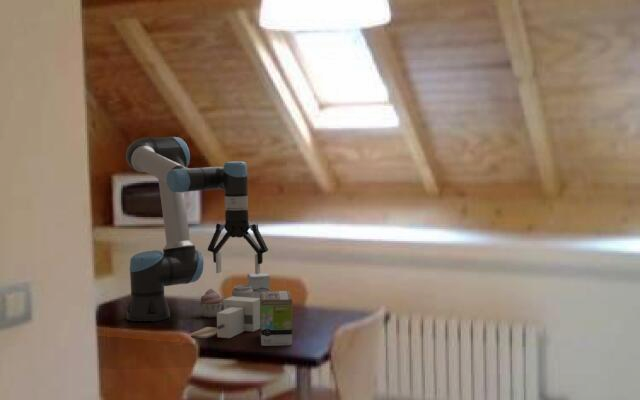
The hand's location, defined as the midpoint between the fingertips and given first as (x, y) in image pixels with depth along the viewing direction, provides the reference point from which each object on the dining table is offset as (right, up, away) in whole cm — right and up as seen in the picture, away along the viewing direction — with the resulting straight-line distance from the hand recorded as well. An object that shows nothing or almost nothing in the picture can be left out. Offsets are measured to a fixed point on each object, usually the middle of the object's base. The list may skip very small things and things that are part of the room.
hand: (238, 273), depth 300 cm
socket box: (+1, -19, +7) cm, 20 cm away
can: (0, -18, +20) cm, 27 cm away
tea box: (+13, -21, -10) cm, 26 cm away
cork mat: (-10, -20, 0) cm, 22 cm away
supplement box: (+4, -16, +40) cm, 43 cm away
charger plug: (-2, -20, -1) cm, 20 cm away
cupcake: (-12, -18, +27) cm, 34 cm away
